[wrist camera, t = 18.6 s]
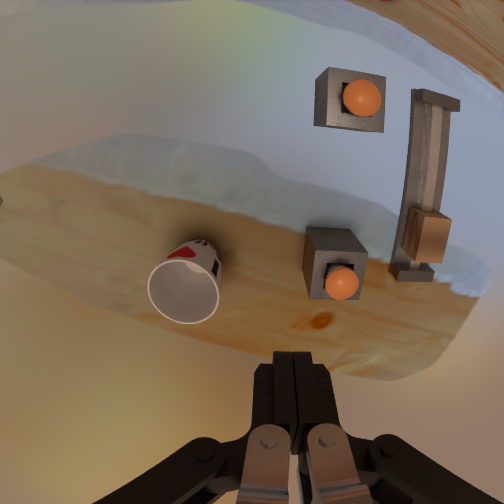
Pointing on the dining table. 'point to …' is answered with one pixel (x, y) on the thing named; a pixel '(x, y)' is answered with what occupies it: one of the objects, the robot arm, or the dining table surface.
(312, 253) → the cabinet
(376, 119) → the cabinet
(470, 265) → the dining table surface
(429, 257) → the carriage
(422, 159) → the rail
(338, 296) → the plunger
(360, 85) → the plunger
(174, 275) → the cup
